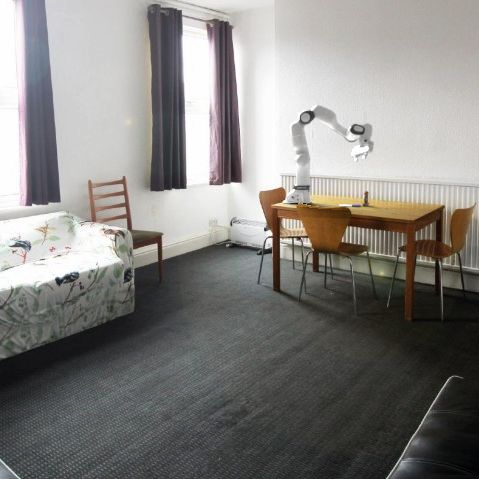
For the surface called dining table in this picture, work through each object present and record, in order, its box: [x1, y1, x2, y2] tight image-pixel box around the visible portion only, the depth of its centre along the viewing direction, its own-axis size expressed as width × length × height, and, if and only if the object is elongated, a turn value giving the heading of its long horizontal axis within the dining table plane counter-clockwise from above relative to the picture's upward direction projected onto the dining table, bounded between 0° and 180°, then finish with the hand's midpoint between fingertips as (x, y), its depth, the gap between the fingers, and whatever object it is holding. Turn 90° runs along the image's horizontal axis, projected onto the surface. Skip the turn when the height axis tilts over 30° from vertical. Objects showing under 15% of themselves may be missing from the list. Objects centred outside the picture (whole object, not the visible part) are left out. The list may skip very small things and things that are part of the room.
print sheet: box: [339, 203, 353, 208], centre depth 436 cm, size 9×9×1 cm
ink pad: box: [351, 203, 361, 208], centre depth 433 cm, size 6×8×1 cm
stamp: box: [362, 190, 370, 207], centre depth 432 cm, size 4×4×11 cm
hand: (360, 160), depth 436 cm, fingers open, 8 cm apart
